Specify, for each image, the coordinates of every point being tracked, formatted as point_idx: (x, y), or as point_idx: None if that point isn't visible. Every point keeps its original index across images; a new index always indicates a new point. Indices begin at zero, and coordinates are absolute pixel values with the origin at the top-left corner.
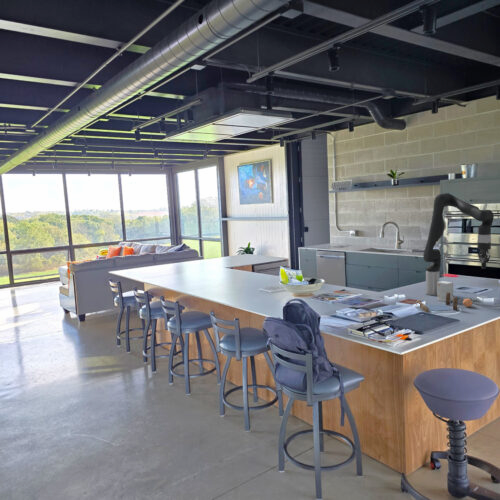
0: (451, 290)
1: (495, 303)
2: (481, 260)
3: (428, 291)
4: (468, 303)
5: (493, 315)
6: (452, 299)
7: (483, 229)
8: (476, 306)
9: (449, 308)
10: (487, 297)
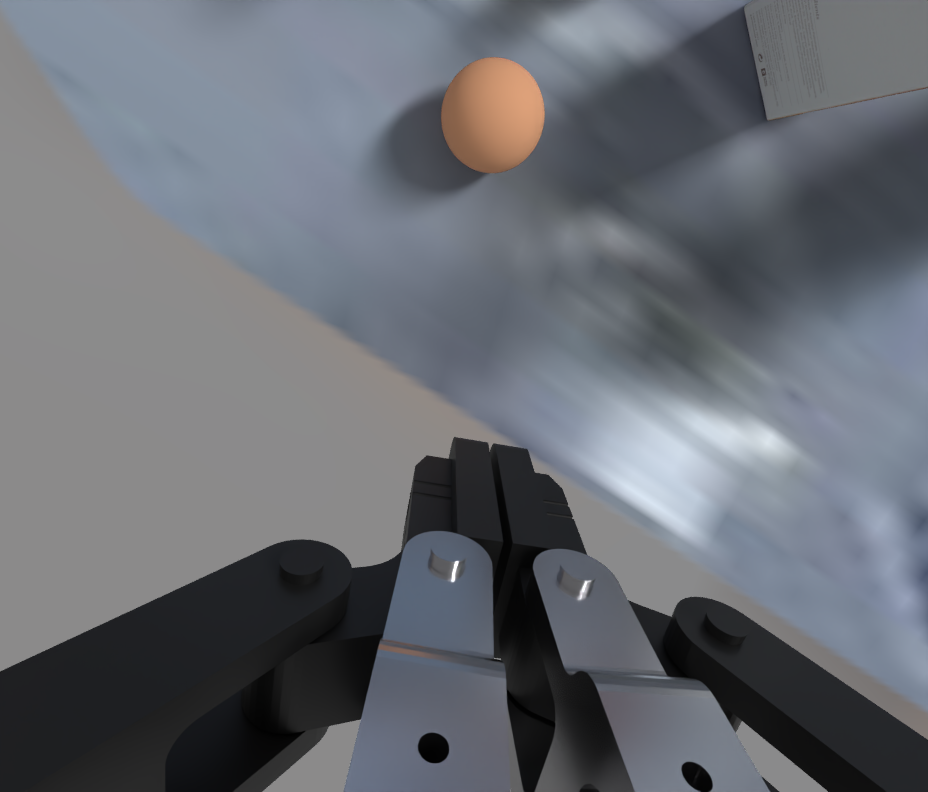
0: (848, 60)
1: None
2: (566, 615)
3: None
4: (445, 95)
5: (132, 179)
6: (773, 107)
7: None
8: (481, 228)
9: None
10: (726, 510)
